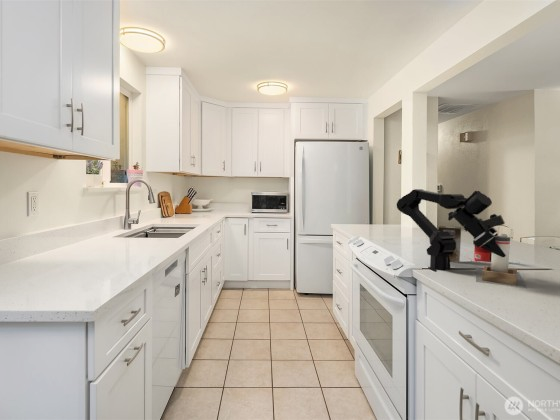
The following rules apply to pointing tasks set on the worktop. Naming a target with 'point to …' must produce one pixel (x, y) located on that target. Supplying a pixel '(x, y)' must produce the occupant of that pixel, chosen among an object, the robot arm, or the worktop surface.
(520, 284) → the rubber mat
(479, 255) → the canned food
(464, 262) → the worktop surface
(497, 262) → the white lens
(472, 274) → the worktop surface
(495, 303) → the worktop surface
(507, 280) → the wooden tray
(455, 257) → the coffee box
